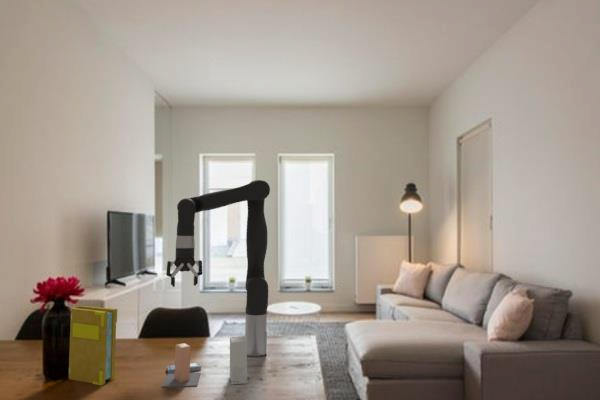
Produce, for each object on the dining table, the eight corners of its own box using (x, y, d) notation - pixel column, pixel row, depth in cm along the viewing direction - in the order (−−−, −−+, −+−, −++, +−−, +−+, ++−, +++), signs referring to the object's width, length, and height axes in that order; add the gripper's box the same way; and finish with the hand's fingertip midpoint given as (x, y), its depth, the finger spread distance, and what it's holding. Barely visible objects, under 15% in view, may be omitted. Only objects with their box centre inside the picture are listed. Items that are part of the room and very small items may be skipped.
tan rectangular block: (183, 376, 158) (184, 342, 158) (189, 380, 154) (190, 345, 154) (174, 378, 156) (175, 344, 156) (180, 382, 152) (181, 347, 152)
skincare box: (247, 384, 152) (248, 341, 153) (230, 385, 151) (231, 342, 152) (245, 375, 160) (245, 335, 161) (228, 376, 159) (229, 335, 160)
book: (115, 378, 155) (117, 308, 156) (101, 385, 149) (103, 312, 150) (78, 372, 161) (81, 305, 162) (63, 378, 155) (66, 308, 156)
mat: (200, 373, 161) (200, 372, 161) (197, 386, 149) (197, 385, 149) (167, 374, 160) (167, 373, 160) (161, 387, 148) (161, 386, 148)
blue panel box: (198, 365, 170) (198, 361, 170) (200, 370, 165) (200, 366, 165) (167, 369, 165) (167, 365, 165) (168, 374, 161) (168, 369, 161)
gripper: (201, 245, 185) (200, 283, 184) (166, 246, 179) (165, 285, 179) (204, 247, 178) (203, 286, 177) (168, 247, 172) (167, 288, 172)
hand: (184, 286), depth 178 cm, fingers open, 8 cm apart
